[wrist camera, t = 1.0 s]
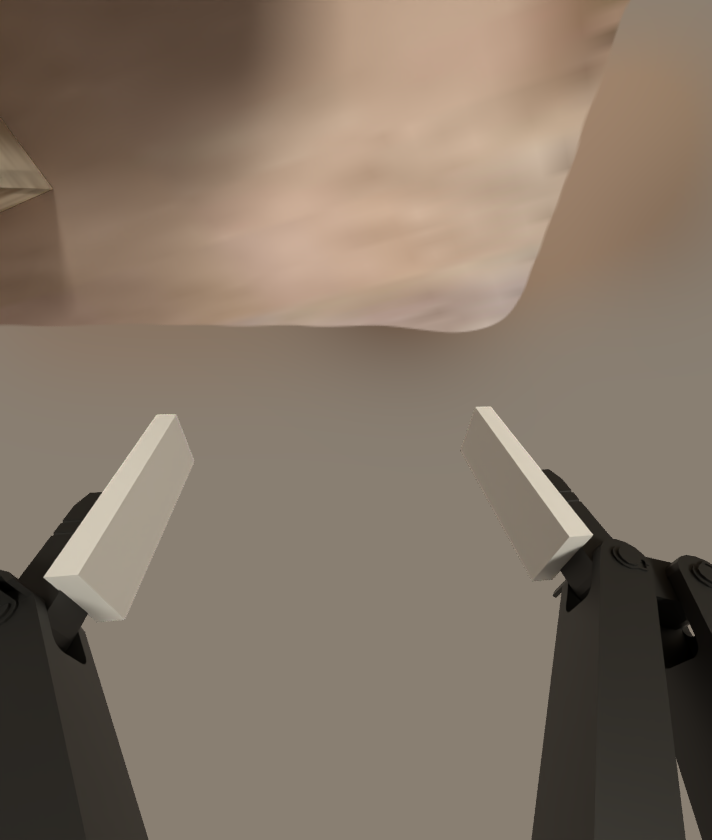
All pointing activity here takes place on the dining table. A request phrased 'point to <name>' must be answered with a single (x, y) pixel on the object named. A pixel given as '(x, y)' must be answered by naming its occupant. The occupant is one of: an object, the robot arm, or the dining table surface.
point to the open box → (17, 172)
